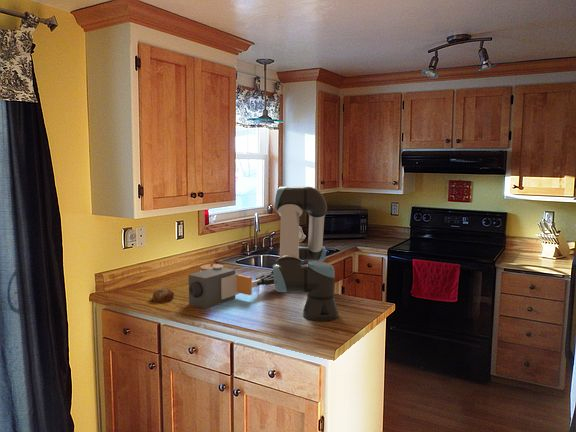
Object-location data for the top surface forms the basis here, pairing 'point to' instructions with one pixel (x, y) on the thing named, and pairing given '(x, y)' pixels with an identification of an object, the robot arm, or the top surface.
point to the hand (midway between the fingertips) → (251, 284)
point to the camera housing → (208, 287)
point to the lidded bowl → (209, 266)
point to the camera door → (235, 285)
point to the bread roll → (162, 294)
